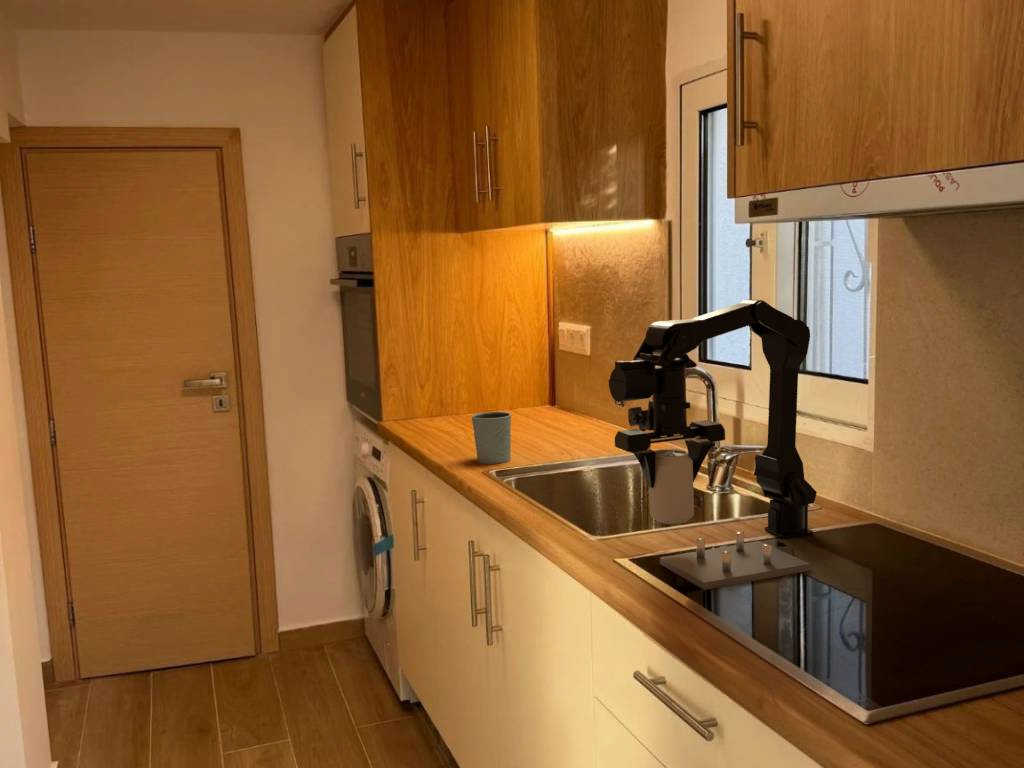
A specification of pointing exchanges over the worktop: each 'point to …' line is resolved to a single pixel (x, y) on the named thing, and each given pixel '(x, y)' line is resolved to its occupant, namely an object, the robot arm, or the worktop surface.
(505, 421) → the grey-blue cup
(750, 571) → the pin tray
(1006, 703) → the worktop surface
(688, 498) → the can
